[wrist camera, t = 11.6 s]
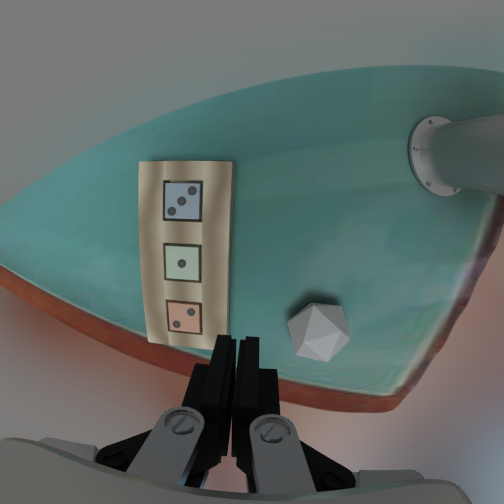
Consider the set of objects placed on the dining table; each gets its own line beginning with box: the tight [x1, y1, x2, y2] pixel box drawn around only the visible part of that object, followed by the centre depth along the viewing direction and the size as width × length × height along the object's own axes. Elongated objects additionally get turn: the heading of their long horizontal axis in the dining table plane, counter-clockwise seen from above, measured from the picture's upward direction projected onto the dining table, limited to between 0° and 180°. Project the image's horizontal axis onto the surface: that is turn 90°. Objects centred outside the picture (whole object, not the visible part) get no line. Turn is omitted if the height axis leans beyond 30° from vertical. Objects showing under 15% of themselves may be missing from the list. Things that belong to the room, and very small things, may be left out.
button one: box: [165, 243, 202, 281], centre depth 38 cm, size 4×4×3 cm
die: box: [287, 302, 350, 362], centre depth 39 cm, size 8×9×10 cm
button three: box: [165, 183, 203, 219], centre depth 36 cm, size 4×4×3 cm
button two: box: [168, 300, 202, 333], centre depth 40 cm, size 4×4×3 cm
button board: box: [138, 161, 235, 350], centre depth 38 cm, size 12×26×4 cm, turn 177°
